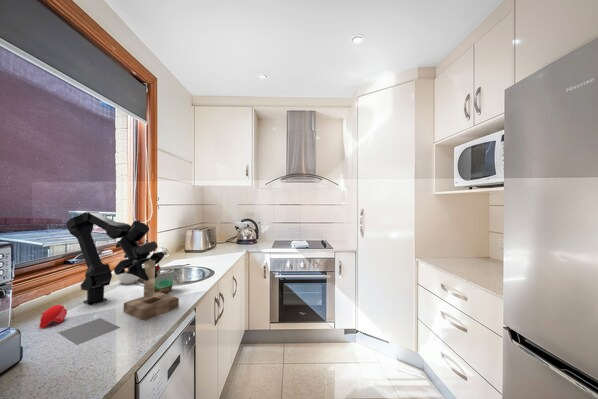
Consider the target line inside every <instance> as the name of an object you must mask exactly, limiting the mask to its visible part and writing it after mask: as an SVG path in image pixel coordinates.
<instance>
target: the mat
mask: <svg viewBox="0 0 598 399" xmlns="http://www.w3.org/2000/svg"><path fill="white" fill-rule="evenodd" d="M120 328H121V327H120V326H119V325H116V324H114V323H112V322H109V321H108V320H105V319H103V318H102V317H99V318H96V319H93V320H90V321H87V322H85V323H82V324H81V323H80V324H78V325H75V326H73V327H70V328H67V329H64V330H60V331H59V332H57V334H59V335H60V336H62V337H64V338H65V339H67V340H68V341H70V342H71V343H73V344H74V345H76V346H79V345H81V344H84V343H86V342H88V341H90V340H94V339H96V338H98V337H101V336H104V335H105V334H108V333H111V332H113V331H116V330H119V329H120Z"/></svg>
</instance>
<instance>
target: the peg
mask: <svg viewBox="0 0 598 399" xmlns="http://www.w3.org/2000/svg"><path fill="white" fill-rule="evenodd" d="M143 270H144V271H145V273H146V274H147V276H148V278H149V280H148V281H146V280H143V296H144V297H151V296H153V295H154V287H155V261H154V260H150V261H145V264H144V269H143Z"/></svg>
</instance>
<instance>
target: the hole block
mask: <svg viewBox="0 0 598 399" xmlns="http://www.w3.org/2000/svg"><path fill="white" fill-rule="evenodd" d="M179 301H180V300H179V297H177V296H174V295H170V294H164V293H161V292H156V293H154V295H153V296H151V297H144V295H143V296H140V297H137V298H134V299H131V300H129V301H125V302H123V310H122V311H123V313H124V314H127V315H129V316H132V317H135V318H137V319H139V320H142V321H147V320H149V319H152V318H155V317H159V316H162V315H163V314H166V313H168V312H170V311H174V310H176V309H178V308H179V305H180V304H179ZM177 307H178V308H177ZM175 308H176V309H175ZM173 309H174V310H173Z"/></svg>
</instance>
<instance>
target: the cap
mask: <svg viewBox="0 0 598 399" xmlns="http://www.w3.org/2000/svg"><path fill="white" fill-rule="evenodd" d="M67 314H68V311H67V308H65V306H64V305H62V304H55V305H53V306H51V307H49V308H48V309H46V310H45V311H44V312H42V314H41V316H40V321H39V328H40V329H45V328H47V326H49V324H50V323H51V322H57V323H60V324H61V323H63V322H64V321H65V318H66V317H67Z"/></svg>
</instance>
